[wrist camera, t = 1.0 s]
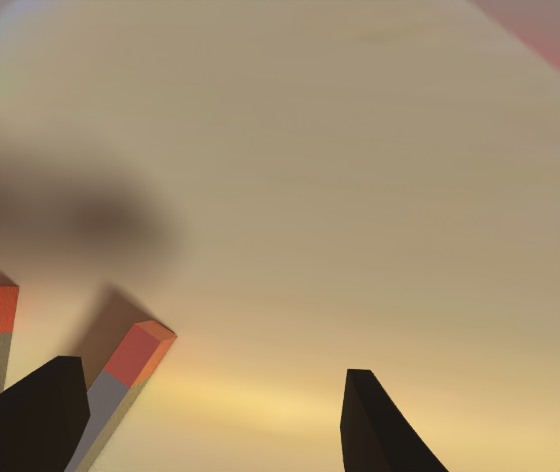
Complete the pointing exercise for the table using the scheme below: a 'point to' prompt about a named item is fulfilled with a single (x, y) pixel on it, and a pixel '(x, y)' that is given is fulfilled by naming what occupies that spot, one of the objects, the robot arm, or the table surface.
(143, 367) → the tongs jaw
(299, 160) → the table surface
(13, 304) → the tongs body
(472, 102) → the table surface
